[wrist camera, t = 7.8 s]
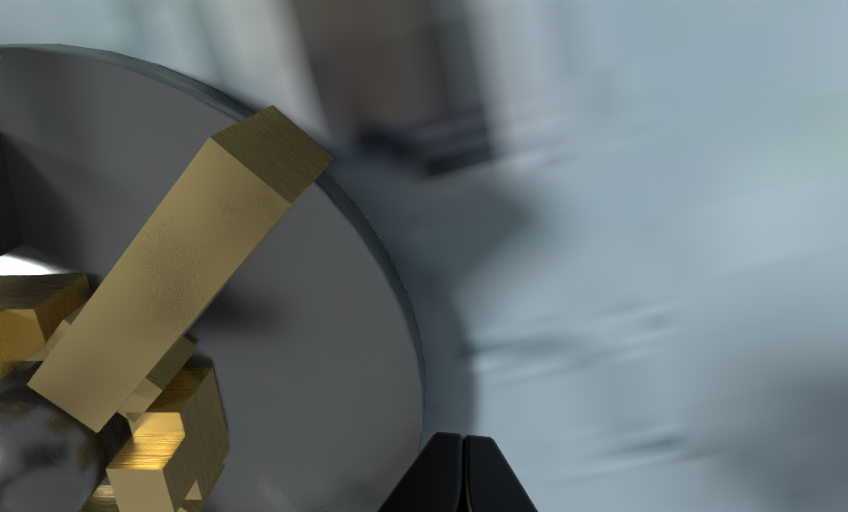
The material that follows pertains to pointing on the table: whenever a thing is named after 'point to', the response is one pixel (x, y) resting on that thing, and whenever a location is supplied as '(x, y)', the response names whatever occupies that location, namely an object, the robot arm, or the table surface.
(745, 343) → the table surface
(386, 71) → the table surface
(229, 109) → the grey round tray
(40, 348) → the gold crown with post
